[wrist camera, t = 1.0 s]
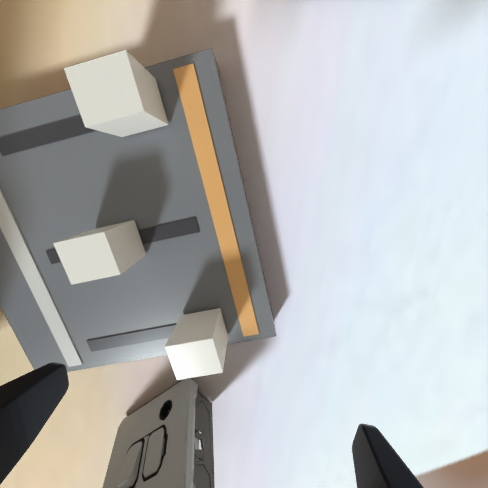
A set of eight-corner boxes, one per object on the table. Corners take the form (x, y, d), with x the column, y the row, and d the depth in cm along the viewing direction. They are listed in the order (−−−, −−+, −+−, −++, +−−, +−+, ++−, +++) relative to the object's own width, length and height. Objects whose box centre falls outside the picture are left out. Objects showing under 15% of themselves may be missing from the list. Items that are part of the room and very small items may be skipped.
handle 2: (190, 343, 19) (176, 380, 16) (180, 315, 19) (164, 346, 15) (228, 337, 19) (222, 372, 16) (220, 308, 18) (212, 338, 15)
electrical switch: (192, 370, 23) (163, 507, 14) (228, 402, 24) (223, 544, 15) (121, 417, 25) (56, 564, 16) (159, 444, 26) (119, 592, 17)
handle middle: (106, 263, 18) (71, 284, 14) (92, 229, 17) (52, 243, 14) (146, 254, 17) (120, 274, 14) (134, 219, 17) (104, 231, 13)
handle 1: (122, 137, 15) (85, 127, 12) (107, 92, 15) (63, 68, 11) (168, 124, 15) (144, 111, 12) (155, 78, 14) (125, 49, 11)
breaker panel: (56, 359, 23) (36, 377, 21) (-55, 139, 18) (-94, 135, 16) (274, 320, 21) (276, 336, 19) (216, 63, 16) (211, 47, 14)
